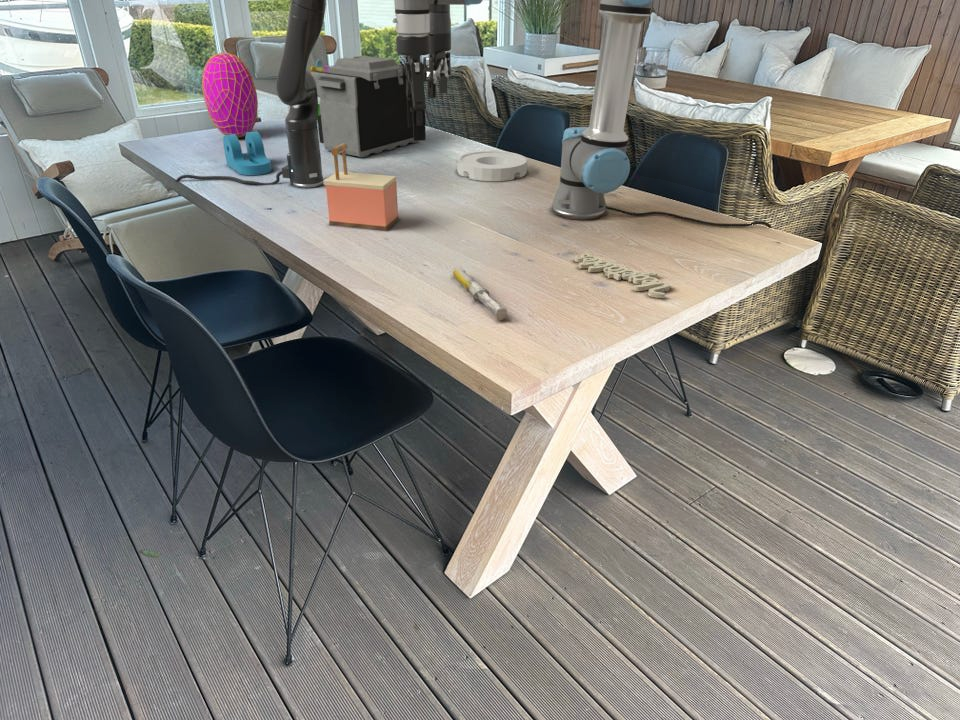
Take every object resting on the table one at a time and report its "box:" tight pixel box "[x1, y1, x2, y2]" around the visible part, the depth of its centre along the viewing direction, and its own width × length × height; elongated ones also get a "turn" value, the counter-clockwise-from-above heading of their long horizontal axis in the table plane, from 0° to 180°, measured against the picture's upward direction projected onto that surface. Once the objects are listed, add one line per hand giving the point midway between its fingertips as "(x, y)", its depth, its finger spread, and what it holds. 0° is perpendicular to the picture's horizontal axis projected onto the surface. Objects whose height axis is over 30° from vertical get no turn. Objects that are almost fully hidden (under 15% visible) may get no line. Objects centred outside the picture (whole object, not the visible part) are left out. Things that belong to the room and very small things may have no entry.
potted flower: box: [309, 58, 332, 122], centre depth 288 cm, size 9×8×25 cm
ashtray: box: [456, 150, 528, 182], centre depth 228 cm, size 23×23×4 cm
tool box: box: [310, 55, 419, 159], centre depth 250 cm, size 37×22×30 cm, turn 144°
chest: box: [325, 180, 399, 232], centre depth 182 cm, size 16×9×11 cm, turn 75°
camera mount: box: [222, 131, 272, 176], centre depth 226 cm, size 18×10×10 cm, turn 35°
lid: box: [323, 143, 397, 190], centre depth 177 cm, size 17×9×9 cm, turn 75°
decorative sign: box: [574, 252, 671, 299], centre depth 155 cm, size 26×1×10 cm
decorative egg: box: [201, 52, 259, 139], centre depth 260 cm, size 19×19×30 cm
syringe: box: [452, 266, 509, 321], centre depth 145 cm, size 25×4×3 cm, turn 21°
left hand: (437, 95), depth 190 cm, fingers open, 8 cm apart
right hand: (416, 133), depth 163 cm, fingers open, 13 cm apart
